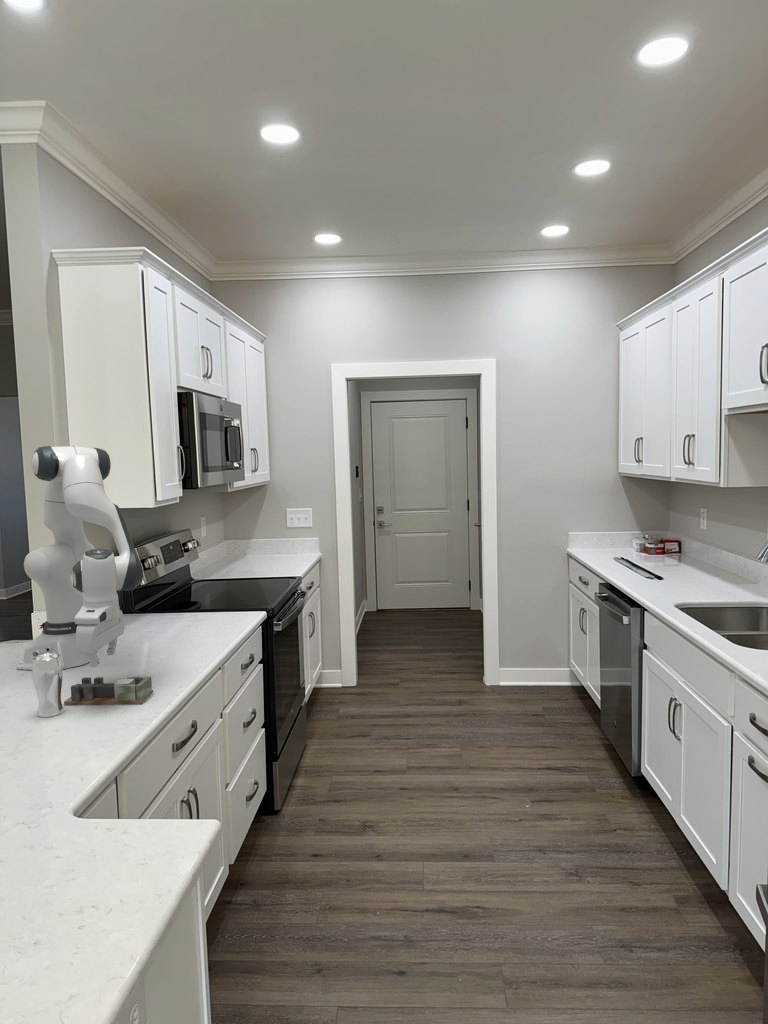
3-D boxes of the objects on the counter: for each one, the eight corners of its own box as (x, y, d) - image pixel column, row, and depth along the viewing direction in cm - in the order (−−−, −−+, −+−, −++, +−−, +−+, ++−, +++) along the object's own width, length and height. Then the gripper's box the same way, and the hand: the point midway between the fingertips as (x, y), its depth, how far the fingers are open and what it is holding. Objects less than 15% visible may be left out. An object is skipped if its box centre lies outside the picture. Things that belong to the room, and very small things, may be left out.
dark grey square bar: (71, 698, 184) (70, 684, 183) (78, 693, 188) (77, 679, 187) (129, 698, 183) (128, 683, 183) (135, 692, 187) (134, 678, 187)
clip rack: (64, 705, 182) (62, 687, 182) (78, 694, 190) (77, 677, 189) (141, 704, 181) (140, 686, 181) (153, 693, 189) (152, 676, 189)
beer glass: (45, 720, 172) (41, 662, 171) (30, 715, 176) (25, 658, 174) (71, 710, 178) (67, 654, 177) (55, 706, 182) (51, 651, 180)
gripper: (107, 601, 194) (109, 648, 195) (70, 619, 173) (73, 672, 175) (129, 601, 193) (131, 648, 195) (94, 619, 173) (97, 672, 174)
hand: (103, 660), depth 185 cm, fingers open, 8 cm apart
